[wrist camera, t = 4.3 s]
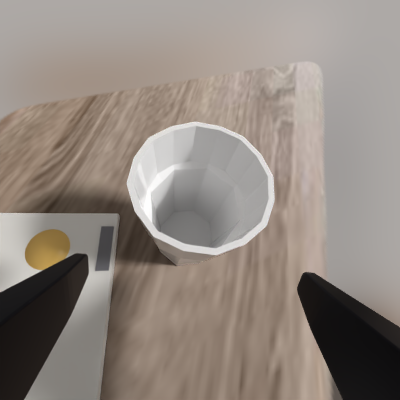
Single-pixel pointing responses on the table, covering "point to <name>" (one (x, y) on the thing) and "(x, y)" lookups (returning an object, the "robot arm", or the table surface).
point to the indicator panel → (88, 300)
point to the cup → (200, 191)
